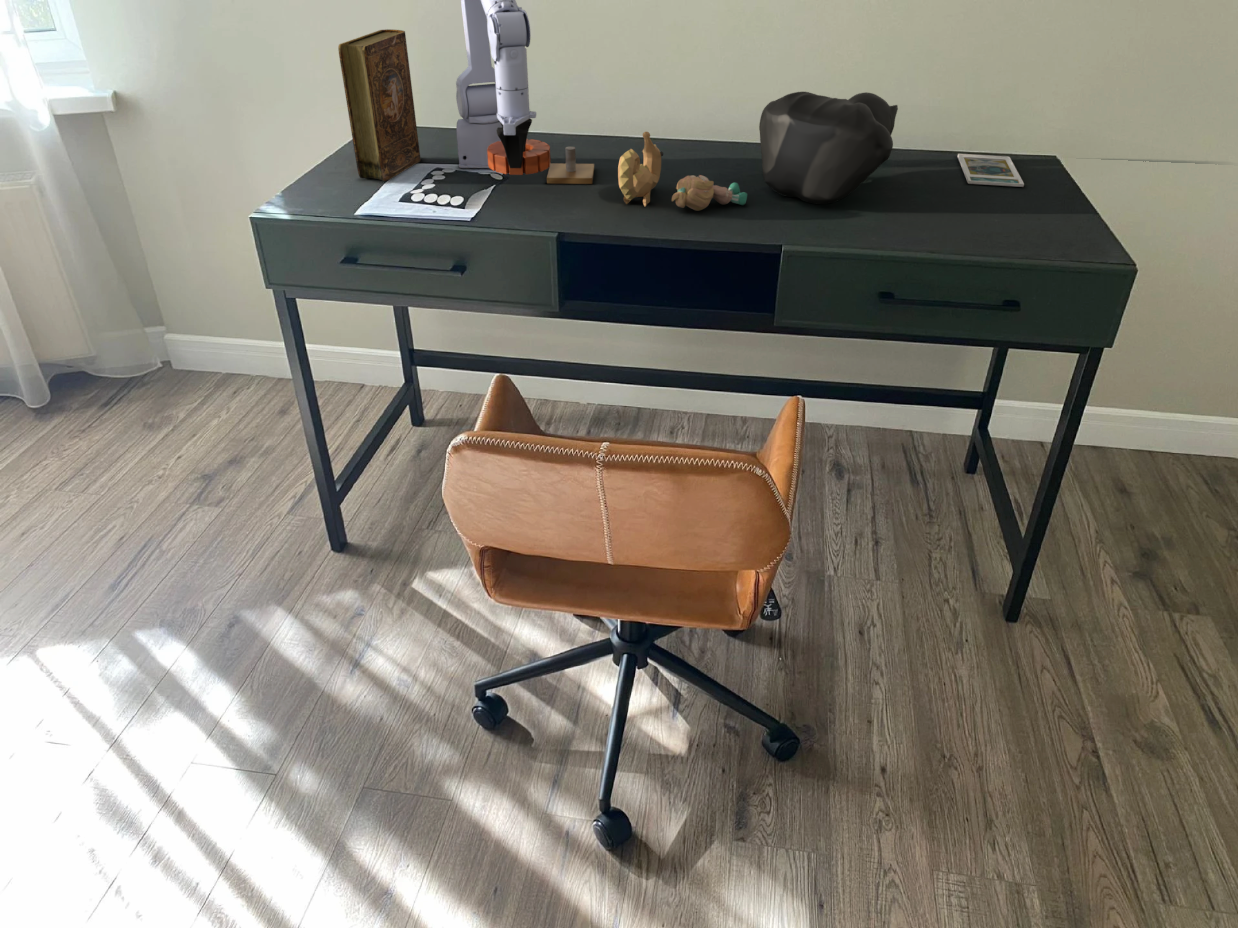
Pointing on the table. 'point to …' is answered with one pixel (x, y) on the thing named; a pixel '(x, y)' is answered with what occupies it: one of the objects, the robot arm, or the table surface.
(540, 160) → the ring
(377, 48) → the book
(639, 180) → the toy
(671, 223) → the table surface
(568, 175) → the rack
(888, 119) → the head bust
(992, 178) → the trading card
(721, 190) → the toy
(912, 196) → the table surface
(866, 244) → the table surface
